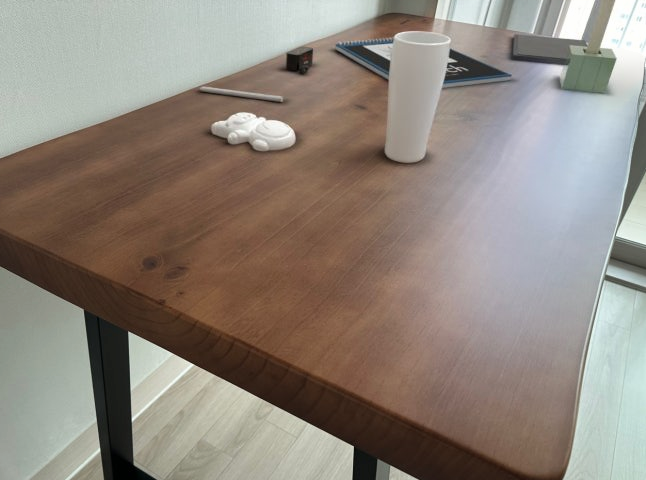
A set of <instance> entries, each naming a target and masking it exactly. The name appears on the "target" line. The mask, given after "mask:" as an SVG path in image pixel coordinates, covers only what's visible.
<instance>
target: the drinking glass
mask: <svg viewBox="0 0 646 480" xmlns="http://www.w3.org/2000/svg"><path fill="white" fill-rule="evenodd" d="M393 37H394V38H393V39H394V41H393V47H392V53H391V60H390V69H389V81H388V88H387V109H386V110H387V111H386V131H385V132H386V133H385V142H384V154H385V156H386V157H387V158H388V159H390V160H392V161H394V162H398V163H403V164H414V163H418V162H420V161H422V160H423V159H424V158H425V156H426V153H427V147H428V143H429V139H430V134H431V130H432V126H433V124H434V119H435V117H436V111H437V108H438V104H439V100H440V97H441V93H442V90H443V88H442V86H443V82H444V78H445V74H446V69H447V64H448V58H449V52H450V49H451V43H452V40H451V38H450V37H449V36H447V35H446V34H442V33H438V32H431V31H423V30H414V31H413V30H410V31H409V30H408V31H402V32H398V33H396V34H394V36H393Z"/></svg>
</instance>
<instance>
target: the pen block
mask: <svg viewBox="0 0 646 480" xmlns="http://www.w3.org/2000/svg"><path fill="white" fill-rule="evenodd" d="M586 49H587V47H585V46H575V45H569V48H568V51H567V55H566V58H565V61H564V65H562V69H561V72H560V75H559V83H560V87H561V90H571V91H580V92H588V93H599V94H605V93H606V91H607V88H608V85H609V82H610V79H611V76H612V73H613V71H614V68H615V65H616V63H617V59H618V58H617V56H616V54H615V52H614V50H613V49H612V48H607V47H600V49H599V52H598V54H593V53H585V52H586Z"/></svg>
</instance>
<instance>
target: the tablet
mask: <svg viewBox="0 0 646 480" xmlns="http://www.w3.org/2000/svg"><path fill="white" fill-rule="evenodd" d="M512 39H513V42H512V59H511V60H512V61H520V62H528V63H529V62H530V63H538V64H539V63H540V64H550V65H558V66H563V65H564V61H565V58H566V55H567V51H568V48H569V45H575V46H585V47H587V46H588V43H587V41H586V40H585V39H573V38H563V37H562V38H561V37H551V36H541V35H528V34H519V33H518V34H517V33H514V35H513V38H512Z"/></svg>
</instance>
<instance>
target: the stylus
mask: <svg viewBox="0 0 646 480" xmlns="http://www.w3.org/2000/svg"><path fill="white" fill-rule="evenodd" d="M615 3H616V0H601V2H600V4H599V8H598V11H597V14H596V17H595V20H594V24H593V27H592V30H591V33H590V36H589V40H588V43H587V49H586V52H585V53H593V54H598V52H599V49H600V48H601V45H602V43H603V39H604V36H605V35H606V34H605V33H606V31H607V27H608V25H609V21H610V18H611V15H612V12H613V9H614V5H615Z"/></svg>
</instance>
